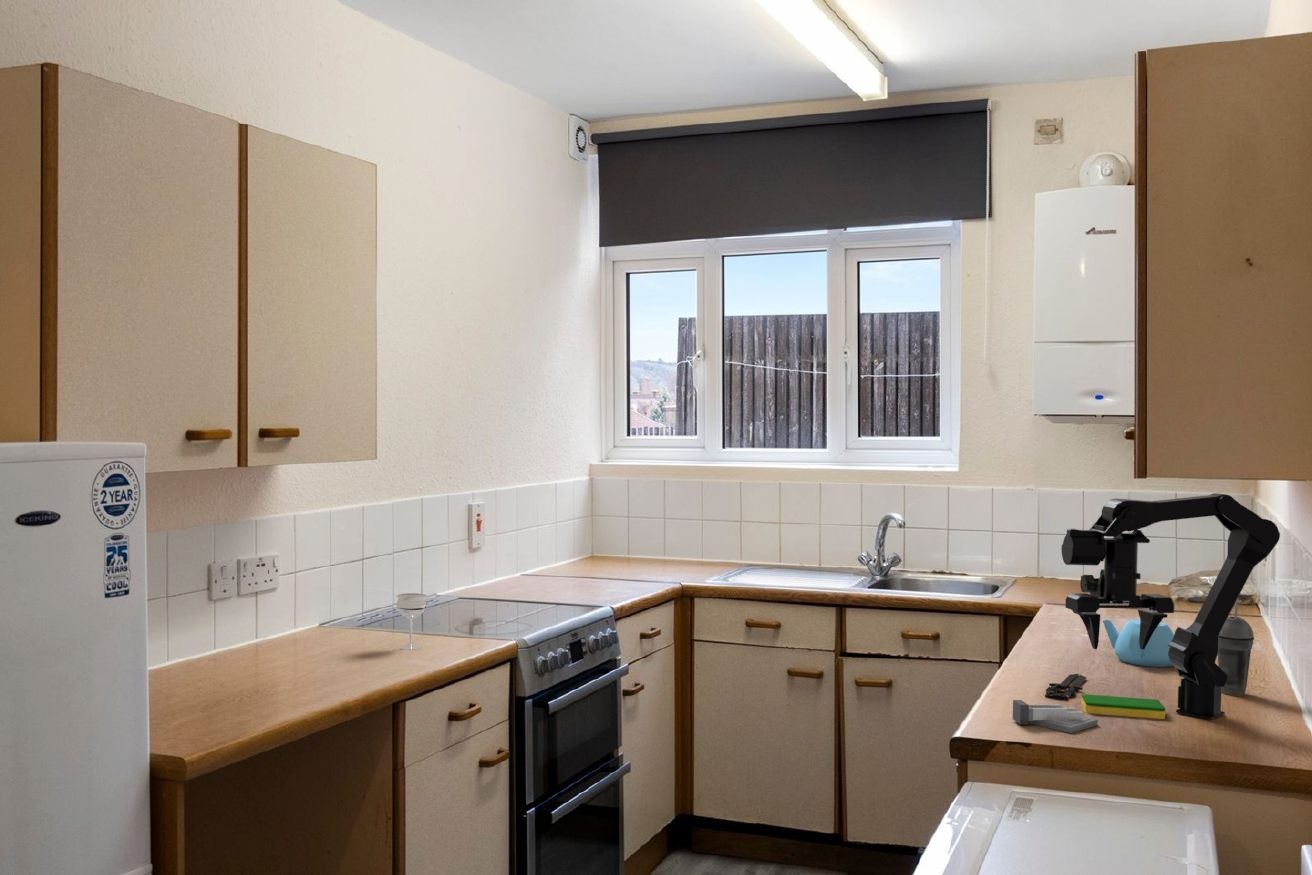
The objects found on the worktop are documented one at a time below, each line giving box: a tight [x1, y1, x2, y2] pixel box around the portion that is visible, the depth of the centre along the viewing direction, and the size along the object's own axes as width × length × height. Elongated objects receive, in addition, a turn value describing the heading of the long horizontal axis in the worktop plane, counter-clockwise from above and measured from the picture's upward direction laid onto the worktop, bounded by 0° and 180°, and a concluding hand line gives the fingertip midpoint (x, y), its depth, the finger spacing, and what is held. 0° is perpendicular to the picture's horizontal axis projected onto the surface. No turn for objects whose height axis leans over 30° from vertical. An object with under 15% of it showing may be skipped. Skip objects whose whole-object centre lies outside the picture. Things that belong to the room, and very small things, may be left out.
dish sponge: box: [1080, 693, 1166, 720], centre depth 214 cm, size 7×14×2 cm, turn 76°
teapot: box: [1102, 619, 1175, 668], centre depth 260 cm, size 15×15×11 cm
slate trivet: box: [1028, 715, 1099, 734], centre depth 204 cm, size 9×9×1 cm
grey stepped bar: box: [1012, 699, 1084, 725], centre depth 203 cm, size 4×4×12 cm
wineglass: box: [395, 592, 427, 651], centre depth 260 cm, size 7×7×12 cm
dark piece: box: [1044, 673, 1087, 701], centre depth 233 cm, size 25×6×1 cm, turn 144°
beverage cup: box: [1217, 598, 1255, 697], centre depth 230 cm, size 7×7×20 cm
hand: (1118, 648), depth 212 cm, fingers open, 9 cm apart
